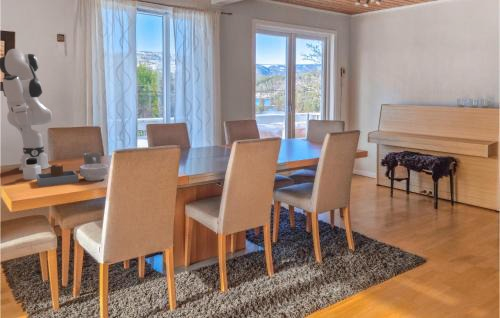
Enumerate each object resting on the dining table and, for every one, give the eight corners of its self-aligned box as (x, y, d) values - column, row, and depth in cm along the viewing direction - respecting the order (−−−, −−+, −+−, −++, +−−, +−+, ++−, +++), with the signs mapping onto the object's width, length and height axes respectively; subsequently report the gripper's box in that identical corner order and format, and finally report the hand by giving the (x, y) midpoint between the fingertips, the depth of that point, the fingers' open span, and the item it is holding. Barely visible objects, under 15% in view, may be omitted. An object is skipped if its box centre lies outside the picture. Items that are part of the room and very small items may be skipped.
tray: (36, 181, 236) (35, 166, 235) (74, 177, 246) (73, 163, 245) (39, 187, 224) (38, 171, 222) (78, 182, 234) (77, 167, 232)
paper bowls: (106, 181, 236) (105, 167, 234) (77, 183, 233) (76, 168, 232) (110, 176, 251) (109, 162, 249) (83, 177, 248) (82, 163, 247)
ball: (54, 168, 235) (54, 163, 234) (60, 168, 236) (60, 163, 236) (55, 169, 232) (55, 164, 232) (61, 169, 234) (61, 163, 233)
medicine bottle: (41, 177, 248) (40, 157, 246) (36, 180, 241) (34, 159, 239) (29, 177, 248) (27, 157, 245) (23, 180, 241) (21, 159, 238)
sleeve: (51, 181, 236) (49, 165, 234) (62, 179, 239) (61, 164, 238) (52, 183, 231) (51, 167, 229) (64, 181, 234) (63, 166, 232)
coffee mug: (85, 168, 274) (84, 152, 272) (101, 167, 277) (100, 152, 275) (83, 172, 261) (82, 156, 259) (100, 171, 264) (99, 155, 262)
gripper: (8, 105, 231) (15, 130, 235) (13, 109, 215) (19, 136, 219) (21, 104, 235) (27, 128, 239) (26, 107, 218) (33, 133, 222)
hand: (23, 132), depth 229 cm, fingers open, 8 cm apart
